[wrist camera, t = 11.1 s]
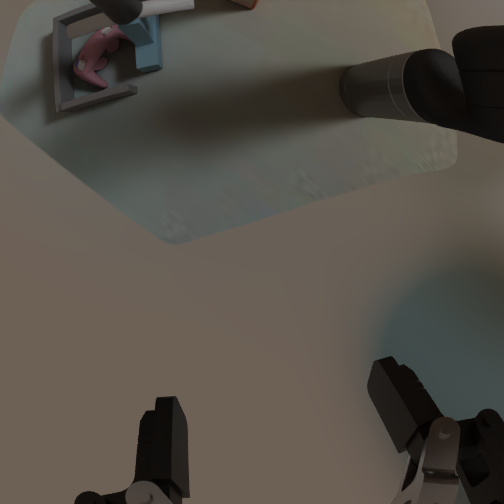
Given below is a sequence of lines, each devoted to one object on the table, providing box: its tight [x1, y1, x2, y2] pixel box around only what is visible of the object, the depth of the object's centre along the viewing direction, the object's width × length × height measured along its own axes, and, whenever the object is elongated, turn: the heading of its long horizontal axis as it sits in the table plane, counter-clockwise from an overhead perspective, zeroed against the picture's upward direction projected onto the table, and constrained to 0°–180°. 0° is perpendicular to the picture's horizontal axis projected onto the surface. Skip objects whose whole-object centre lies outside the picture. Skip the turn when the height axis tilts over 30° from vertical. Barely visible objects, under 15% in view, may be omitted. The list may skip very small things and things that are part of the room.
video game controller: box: [73, 24, 132, 88], centre depth 31 cm, size 10×5×7 cm, turn 142°
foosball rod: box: [66, 0, 194, 73], centre depth 21 cm, size 14×10×28 cm
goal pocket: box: [53, 3, 137, 112], centre depth 31 cm, size 12×16×5 cm
